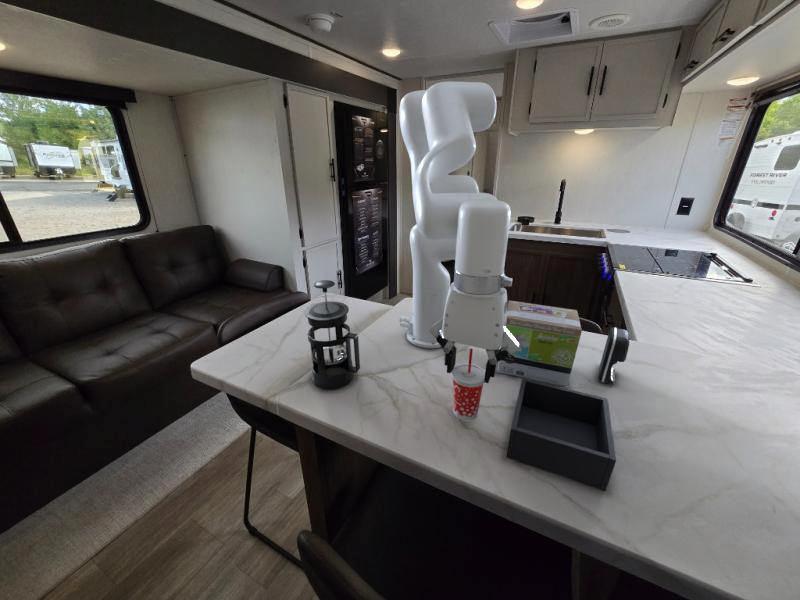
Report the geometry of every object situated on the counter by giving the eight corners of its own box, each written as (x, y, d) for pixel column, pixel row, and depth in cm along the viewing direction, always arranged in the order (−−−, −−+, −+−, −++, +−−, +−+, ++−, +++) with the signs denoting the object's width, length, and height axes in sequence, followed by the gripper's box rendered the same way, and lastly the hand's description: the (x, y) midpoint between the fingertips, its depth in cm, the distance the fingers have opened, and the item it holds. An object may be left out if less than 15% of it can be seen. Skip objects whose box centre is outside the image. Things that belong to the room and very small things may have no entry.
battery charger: (617, 388, 73) (632, 342, 69) (597, 382, 75) (610, 337, 70) (617, 371, 79) (631, 328, 74) (599, 366, 80) (611, 323, 76)
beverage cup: (449, 399, 68) (453, 339, 62) (480, 402, 67) (487, 341, 62) (449, 422, 62) (453, 357, 57) (483, 425, 62) (491, 360, 56)
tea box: (496, 374, 78) (504, 316, 72) (500, 351, 86) (507, 298, 80) (568, 388, 73) (583, 328, 67) (564, 363, 82) (577, 307, 76)
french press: (301, 385, 75) (287, 287, 65) (322, 361, 83) (312, 272, 73) (350, 395, 71) (342, 294, 62) (367, 370, 80) (362, 277, 70)
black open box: (505, 457, 57) (510, 428, 54) (517, 403, 69) (522, 377, 66) (605, 491, 51) (616, 460, 49) (599, 425, 63) (607, 398, 61)
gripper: (537, 280, 54) (521, 374, 61) (434, 266, 61) (431, 352, 68) (532, 298, 48) (515, 400, 55) (418, 280, 54) (416, 373, 62)
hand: (469, 373), depth 61 cm, fingers closed on beverage cup, 6 cm apart
